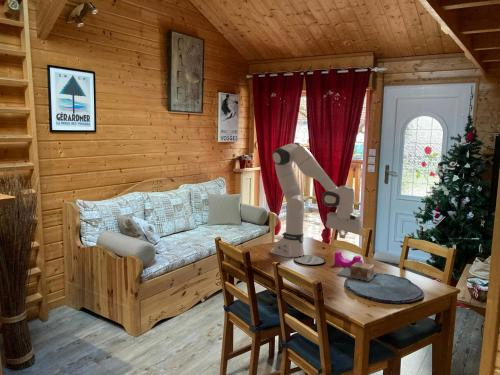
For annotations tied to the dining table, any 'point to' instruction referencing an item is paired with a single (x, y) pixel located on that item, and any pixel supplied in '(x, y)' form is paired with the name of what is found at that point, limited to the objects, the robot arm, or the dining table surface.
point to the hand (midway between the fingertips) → (342, 238)
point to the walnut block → (362, 269)
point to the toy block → (345, 260)
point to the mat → (347, 273)
